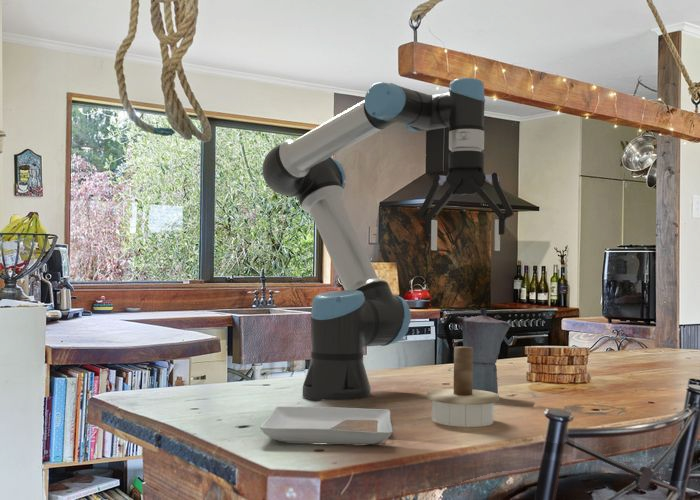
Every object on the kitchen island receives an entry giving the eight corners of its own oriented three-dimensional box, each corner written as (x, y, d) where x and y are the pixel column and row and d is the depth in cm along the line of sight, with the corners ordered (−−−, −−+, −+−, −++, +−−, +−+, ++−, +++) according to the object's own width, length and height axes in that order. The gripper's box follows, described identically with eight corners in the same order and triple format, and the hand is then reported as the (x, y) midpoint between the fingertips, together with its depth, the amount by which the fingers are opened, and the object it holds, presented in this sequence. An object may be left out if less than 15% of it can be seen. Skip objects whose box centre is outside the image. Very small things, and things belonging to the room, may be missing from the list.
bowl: (426, 429, 139) (426, 401, 139) (439, 418, 150) (439, 392, 150) (488, 434, 136) (488, 405, 136) (497, 422, 146) (497, 395, 146)
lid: (420, 401, 139) (420, 349, 139) (435, 391, 151) (435, 342, 151) (493, 406, 135) (494, 352, 135) (503, 395, 147) (503, 345, 147)
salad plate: (389, 425, 144) (390, 406, 144) (392, 452, 123) (393, 430, 123) (275, 423, 145) (275, 404, 145) (258, 449, 124) (258, 427, 124)
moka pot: (511, 401, 171) (512, 309, 171) (440, 398, 174) (441, 308, 174) (511, 395, 180) (511, 308, 181) (443, 392, 183) (444, 306, 184)
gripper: (405, 151, 169) (404, 249, 168) (523, 147, 161) (522, 250, 160) (413, 156, 176) (412, 250, 175) (527, 152, 168) (526, 251, 167)
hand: (465, 250), depth 168 cm, fingers open, 13 cm apart
